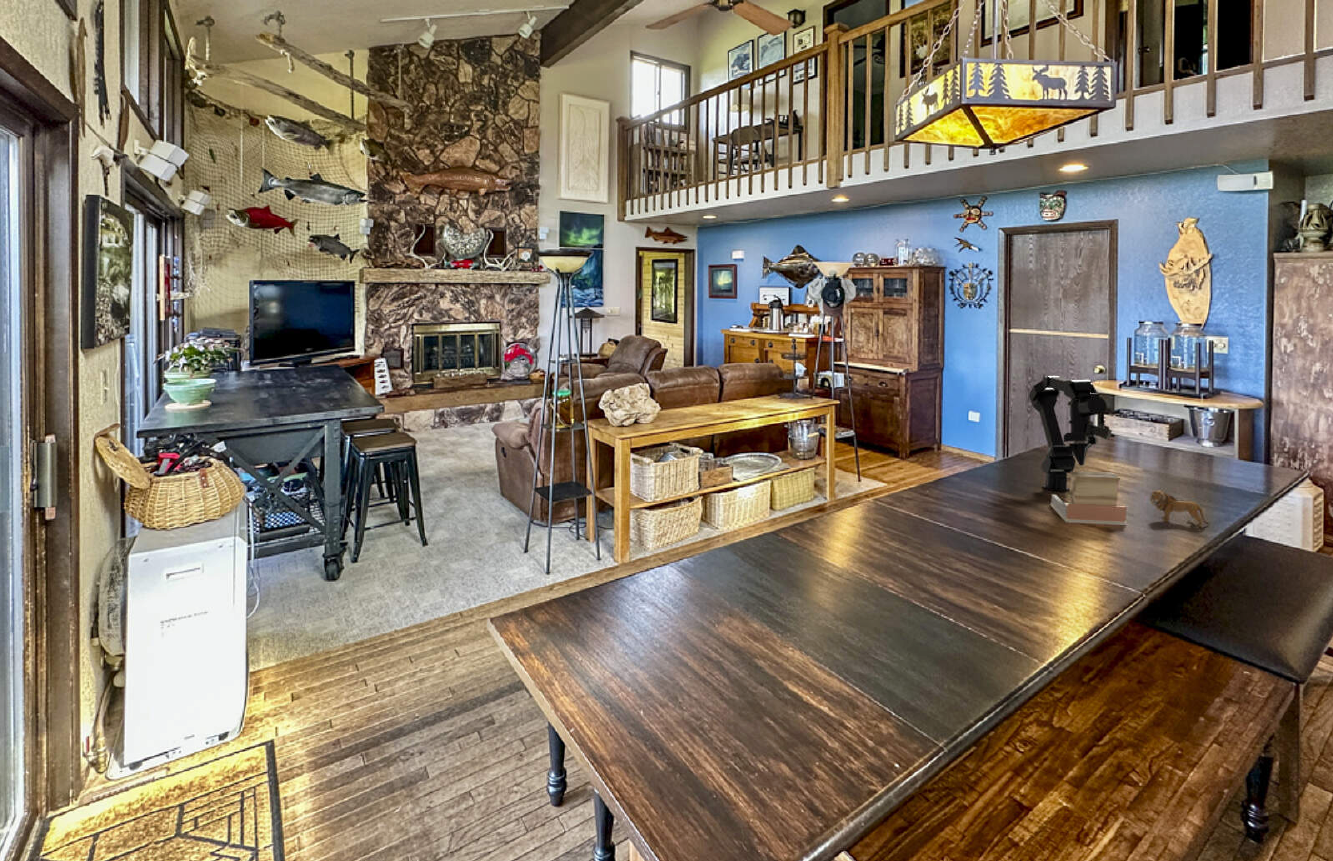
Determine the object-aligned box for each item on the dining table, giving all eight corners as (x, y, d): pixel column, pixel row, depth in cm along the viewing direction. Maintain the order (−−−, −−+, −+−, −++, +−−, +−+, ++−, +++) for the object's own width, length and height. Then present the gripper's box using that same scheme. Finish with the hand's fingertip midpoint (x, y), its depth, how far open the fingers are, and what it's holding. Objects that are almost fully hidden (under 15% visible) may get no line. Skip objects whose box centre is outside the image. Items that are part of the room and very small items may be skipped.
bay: (1050, 504, 227) (1051, 488, 226) (1105, 507, 223) (1106, 490, 222) (1066, 522, 209) (1067, 504, 208) (1126, 525, 205) (1128, 507, 204)
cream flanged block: (1067, 511, 216) (1070, 471, 214) (1108, 513, 213) (1112, 472, 211) (1073, 517, 210) (1076, 476, 207) (1116, 519, 207) (1120, 477, 204)
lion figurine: (1147, 520, 209) (1150, 491, 207) (1148, 515, 213) (1151, 487, 211) (1209, 528, 200) (1212, 498, 199) (1208, 523, 205) (1212, 494, 203)
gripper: (1102, 413, 215) (1104, 463, 214) (1114, 419, 229) (1116, 466, 227) (1062, 415, 223) (1063, 464, 221) (1076, 420, 236) (1077, 466, 235)
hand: (1081, 465), depth 226 cm, fingers closed
